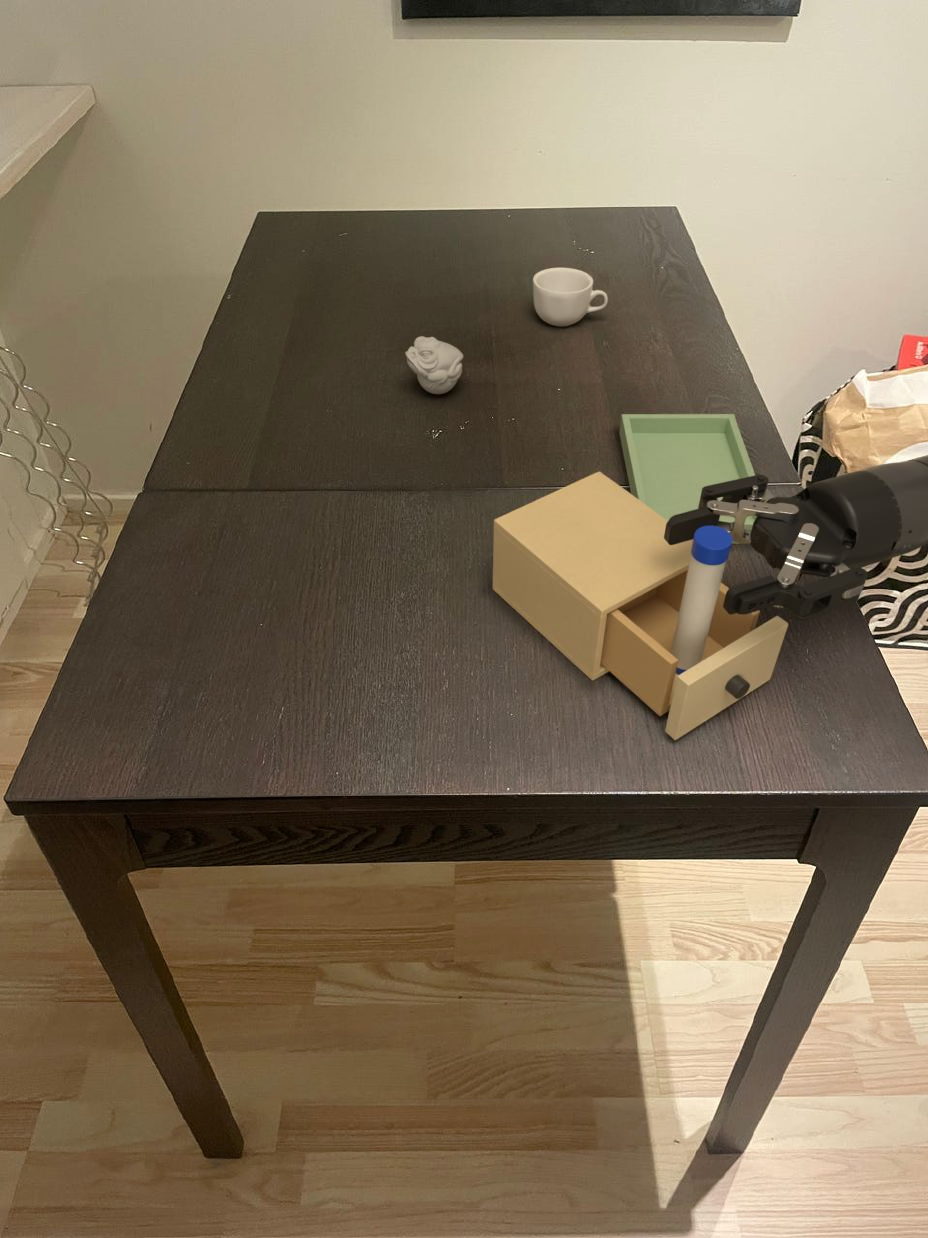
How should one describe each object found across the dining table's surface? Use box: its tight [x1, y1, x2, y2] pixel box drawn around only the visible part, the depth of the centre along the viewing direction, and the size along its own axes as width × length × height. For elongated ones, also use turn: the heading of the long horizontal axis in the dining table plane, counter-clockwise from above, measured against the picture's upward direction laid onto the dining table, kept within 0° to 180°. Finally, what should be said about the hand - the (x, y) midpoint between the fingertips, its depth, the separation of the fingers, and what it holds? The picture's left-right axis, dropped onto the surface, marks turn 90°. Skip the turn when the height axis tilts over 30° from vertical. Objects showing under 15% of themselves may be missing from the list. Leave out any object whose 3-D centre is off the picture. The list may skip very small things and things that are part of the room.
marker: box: [671, 526, 733, 675], centre depth 76 cm, size 3×3×14 cm
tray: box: [618, 413, 757, 545], centre depth 101 cm, size 20×13×2 cm, turn 0°
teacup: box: [532, 267, 609, 327], centre depth 126 cm, size 10×8×5 cm
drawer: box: [600, 570, 789, 741], centre depth 80 cm, size 15×11×7 cm
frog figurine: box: [404, 335, 464, 395], centre depth 113 cm, size 6×7×7 cm
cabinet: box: [492, 471, 693, 682], centre depth 86 cm, size 14×12×8 cm
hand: (696, 566), depth 72 cm, fingers open, 8 cm apart
